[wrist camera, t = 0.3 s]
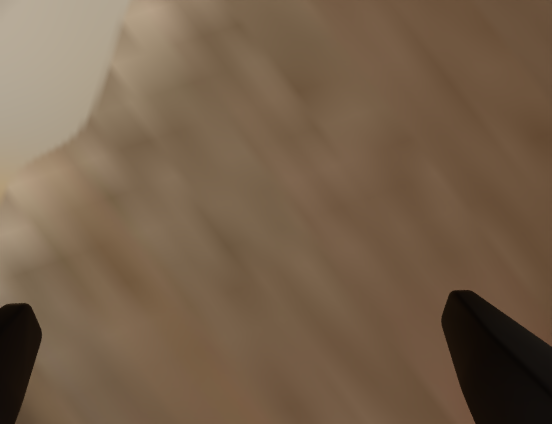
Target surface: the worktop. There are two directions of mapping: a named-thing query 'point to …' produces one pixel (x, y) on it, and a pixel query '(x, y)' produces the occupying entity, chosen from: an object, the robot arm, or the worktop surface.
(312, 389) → the worktop surface
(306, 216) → the worktop surface
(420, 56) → the worktop surface
